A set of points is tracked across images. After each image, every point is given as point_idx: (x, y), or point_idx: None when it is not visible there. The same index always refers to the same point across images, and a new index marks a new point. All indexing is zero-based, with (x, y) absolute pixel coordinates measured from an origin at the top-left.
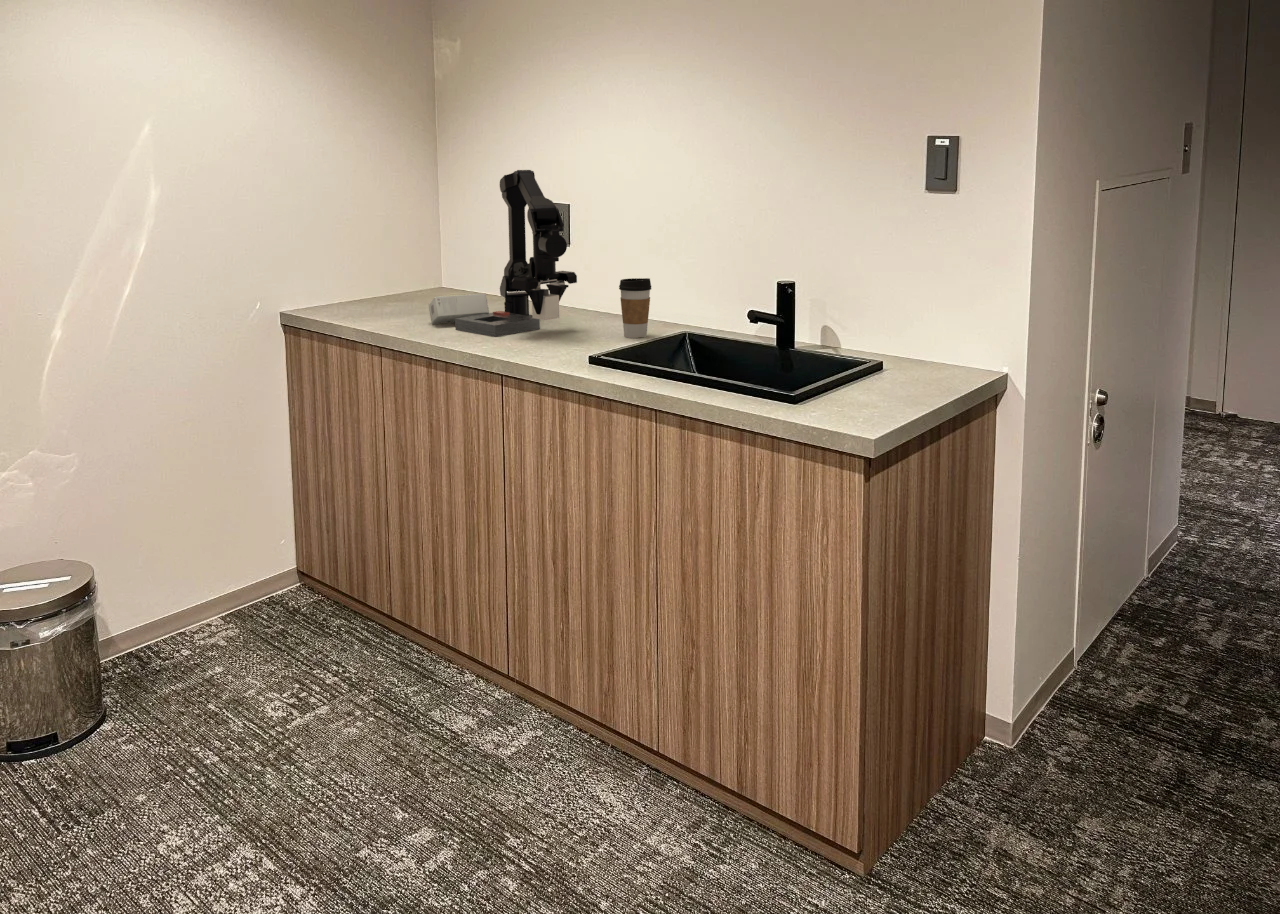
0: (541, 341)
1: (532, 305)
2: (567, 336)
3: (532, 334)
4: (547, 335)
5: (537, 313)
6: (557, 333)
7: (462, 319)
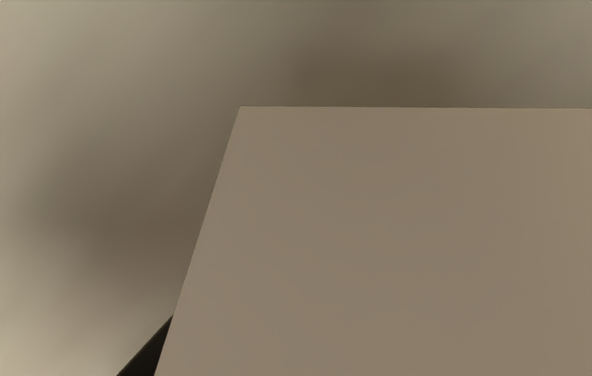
0: (70, 348)
1: (191, 269)
2: None
3: (215, 74)
4: None
5: None
6: None
7: None
